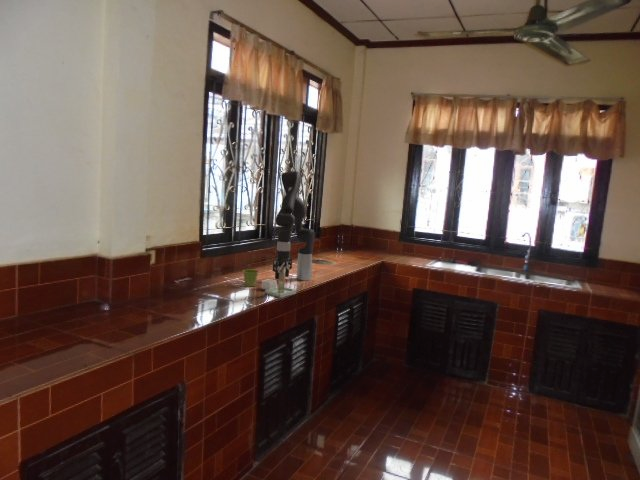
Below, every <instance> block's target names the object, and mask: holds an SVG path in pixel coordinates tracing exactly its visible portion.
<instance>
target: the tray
mask: <svg viewBox="0 0 640 480" xmlns="http://www.w3.org/2000/svg"><path fill="white" fill-rule="evenodd" d="M297 293H298V290H297V289H295V288H289V287H286V286H284V293H279V292H278V286H277V288H273V289H269V290H264V295H267V296H271V297H272V296H273V297H275V298H279V299H281V298H284V297H288V296H293V295H295V294H297Z"/></svg>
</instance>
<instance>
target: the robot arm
mask: <svg viewBox="0 0 640 480" xmlns="http://www.w3.org/2000/svg"><path fill="white" fill-rule="evenodd" d="M281 184H282V186H283V190H284V192H285V195H284V197H283V198H282V200H281V207H280V210H279V211H278V212H277V214H276V217H275V224H276V225H277V226H278V227H284V228H286V227H287V229H284V230H278V233H277V242H276V243H277V244H276V258H277V260H273V262H272V263H273V264H272V272H274V278H275V279H276V280H279V271H280V270H281V269H282V268H283V267H284V268H285V278H288V277H289V275H290V271H291V270H292V269H293V258H290V257H291V236H292V231H293V227H294V229H295V236H296V240H297V241H298V242H299V243H304V244H305V245H304V246H302V247H300V248H298V250H297V251H298V253H297V264H296V265H297V266H296V279H297V280H299V281H310V280H312V275H313V274H312V273H313V262H312V261H313V251H314V247H315V246H314V243H315V238H316V235H315V230H313V229H310V228H304V226H303V221H304V219H305V217H306V214H307V211H306V206H305V202H304V201H303V199H302V198H301V197H300V196H298V193H299V190H300V188H301V184H302V176H301V173H300V172H299V171H287V172H283V173H282V174H281ZM275 279H274V280H275Z"/></svg>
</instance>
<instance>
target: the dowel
mask: <svg viewBox="0 0 640 480" xmlns="http://www.w3.org/2000/svg"><path fill="white" fill-rule="evenodd" d="M285 279H286V277H285V268H284V267H283V268H282V269H281V270H280V271H279V279H278V282H277V283H278V284H277V287H278V292H279V293H284V287H285V283H286V282H285Z"/></svg>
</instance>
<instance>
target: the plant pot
mask: <svg viewBox="0 0 640 480" xmlns="http://www.w3.org/2000/svg"><path fill="white" fill-rule="evenodd" d="M242 272H243V279H244V286H246V287H255V286H256V283H257V278H258V275H259V270H256V269H243V270H242Z"/></svg>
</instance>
